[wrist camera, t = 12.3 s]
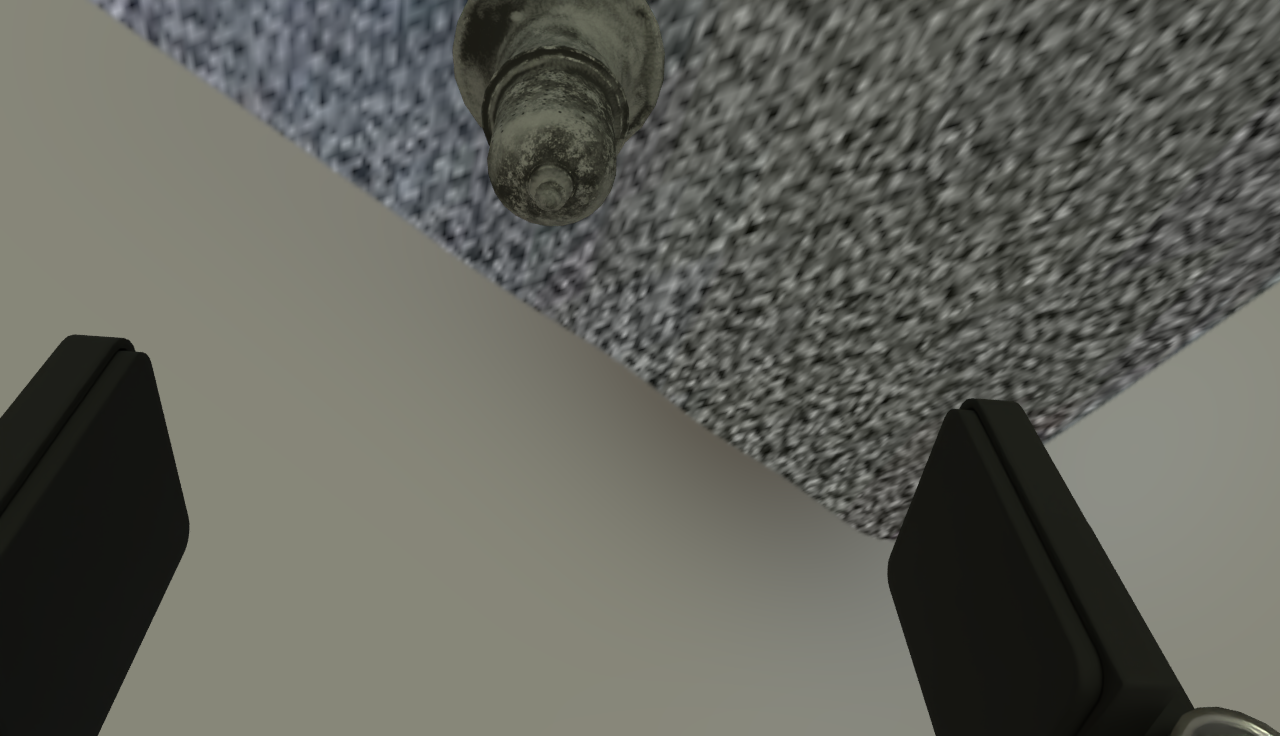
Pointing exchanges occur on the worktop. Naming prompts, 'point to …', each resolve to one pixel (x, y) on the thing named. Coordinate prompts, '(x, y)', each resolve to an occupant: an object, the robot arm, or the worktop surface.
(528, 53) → the dark grey rounded piece
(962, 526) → the robot arm
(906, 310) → the worktop surface
